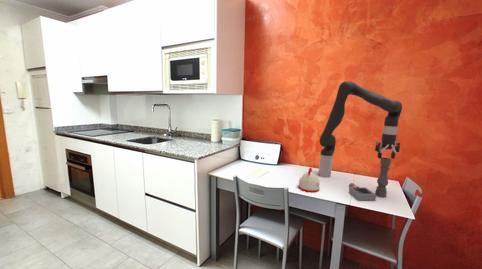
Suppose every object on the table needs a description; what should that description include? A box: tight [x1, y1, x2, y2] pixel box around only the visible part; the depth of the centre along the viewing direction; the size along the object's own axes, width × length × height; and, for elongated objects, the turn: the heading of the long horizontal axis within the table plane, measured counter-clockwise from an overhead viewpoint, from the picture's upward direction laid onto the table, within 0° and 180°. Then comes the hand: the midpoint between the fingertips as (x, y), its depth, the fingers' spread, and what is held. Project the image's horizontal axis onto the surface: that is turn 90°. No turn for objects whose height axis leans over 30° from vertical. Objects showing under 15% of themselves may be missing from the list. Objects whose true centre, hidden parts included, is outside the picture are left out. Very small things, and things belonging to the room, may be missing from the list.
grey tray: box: [348, 182, 377, 202], centre depth 146 cm, size 18×11×5 cm, turn 3°
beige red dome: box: [297, 166, 320, 194], centre depth 152 cm, size 14×14×15 cm
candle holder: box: [374, 157, 392, 198], centre depth 143 cm, size 6×6×25 cm
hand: (385, 158), depth 141 cm, fingers open, 8 cm apart
